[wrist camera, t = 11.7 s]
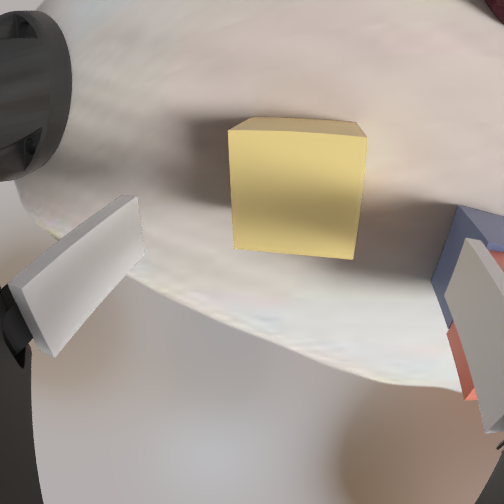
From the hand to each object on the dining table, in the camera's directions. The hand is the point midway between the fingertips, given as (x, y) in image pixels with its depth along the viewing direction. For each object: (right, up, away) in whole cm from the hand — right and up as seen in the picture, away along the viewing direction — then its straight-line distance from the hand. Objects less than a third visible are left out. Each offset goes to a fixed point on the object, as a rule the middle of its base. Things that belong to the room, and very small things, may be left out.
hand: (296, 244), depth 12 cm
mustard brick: (+1, +5, +7) cm, 8 cm away
